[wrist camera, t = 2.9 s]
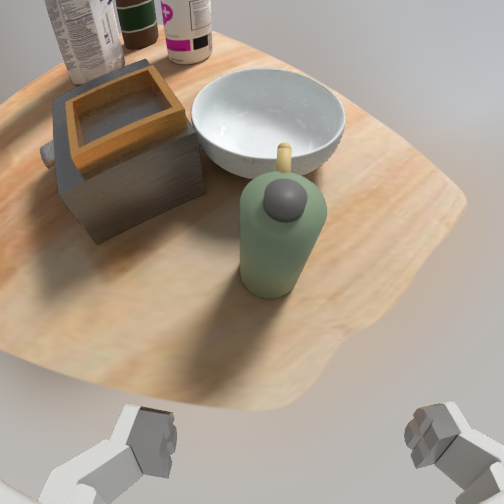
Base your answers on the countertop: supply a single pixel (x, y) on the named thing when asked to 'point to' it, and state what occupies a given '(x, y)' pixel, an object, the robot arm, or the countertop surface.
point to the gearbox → (123, 150)
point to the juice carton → (86, 37)
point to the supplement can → (187, 30)
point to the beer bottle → (137, 22)
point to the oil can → (278, 228)
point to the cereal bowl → (267, 121)
